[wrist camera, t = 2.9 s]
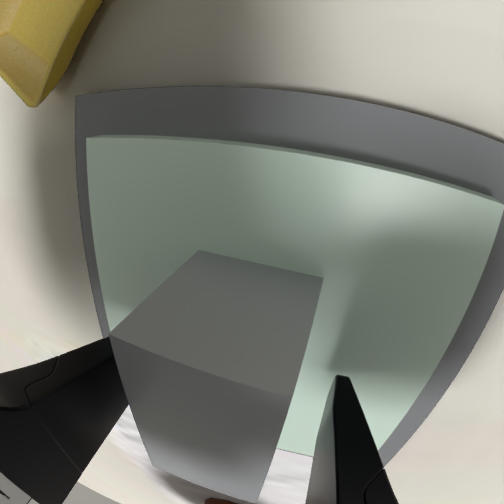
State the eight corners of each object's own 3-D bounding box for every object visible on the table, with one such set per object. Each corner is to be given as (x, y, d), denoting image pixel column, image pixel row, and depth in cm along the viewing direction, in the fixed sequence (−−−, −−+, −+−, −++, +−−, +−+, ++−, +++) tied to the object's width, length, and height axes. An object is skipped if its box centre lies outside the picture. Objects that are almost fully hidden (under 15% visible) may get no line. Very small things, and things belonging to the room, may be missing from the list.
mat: (534, 158, 6) (542, 161, 5) (383, 460, 12) (383, 467, 12) (85, 95, 9) (75, 95, 9) (123, 383, 16) (118, 389, 15)
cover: (493, 197, 6) (597, 284, 2) (367, 451, 12) (352, 541, 7) (102, 134, 9) (-21, 166, 5) (135, 382, 14) (83, 447, 10)
